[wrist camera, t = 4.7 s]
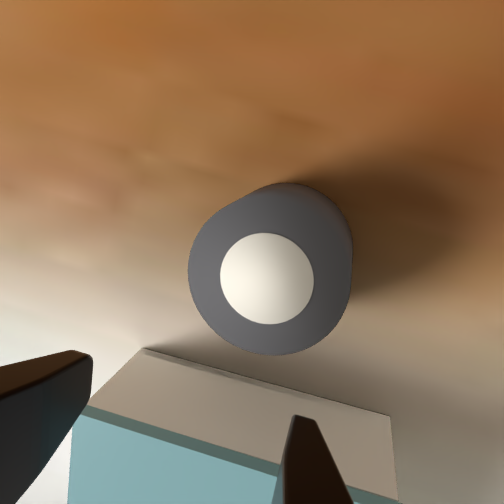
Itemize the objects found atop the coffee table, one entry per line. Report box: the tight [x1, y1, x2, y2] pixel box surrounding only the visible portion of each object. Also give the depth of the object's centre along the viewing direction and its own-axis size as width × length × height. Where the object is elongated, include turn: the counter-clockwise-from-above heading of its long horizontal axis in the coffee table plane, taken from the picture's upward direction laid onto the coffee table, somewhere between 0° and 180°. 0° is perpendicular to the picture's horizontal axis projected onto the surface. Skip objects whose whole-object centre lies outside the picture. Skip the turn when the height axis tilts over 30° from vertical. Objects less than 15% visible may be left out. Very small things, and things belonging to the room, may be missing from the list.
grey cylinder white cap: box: [188, 183, 353, 355], centre depth 18 cm, size 6×6×5 cm
